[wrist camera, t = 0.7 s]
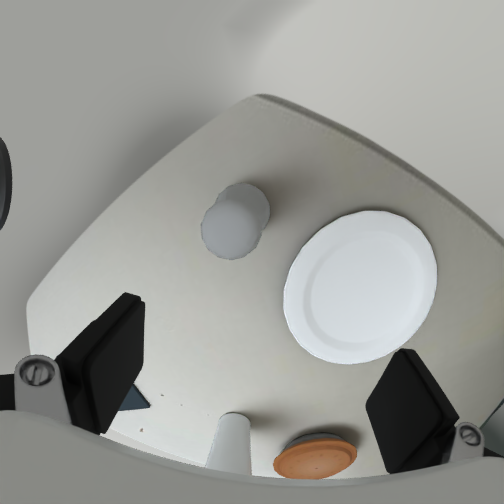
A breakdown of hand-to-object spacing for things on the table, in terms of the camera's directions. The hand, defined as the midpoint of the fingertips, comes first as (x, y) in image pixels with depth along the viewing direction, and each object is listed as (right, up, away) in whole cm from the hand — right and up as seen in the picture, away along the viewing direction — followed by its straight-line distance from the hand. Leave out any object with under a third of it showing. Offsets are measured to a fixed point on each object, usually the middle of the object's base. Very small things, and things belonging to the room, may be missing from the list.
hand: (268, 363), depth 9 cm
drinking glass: (-3, -24, +32) cm, 40 cm away
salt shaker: (-1, +9, +22) cm, 24 cm away
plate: (+14, -1, +24) cm, 28 cm away
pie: (+11, -33, +34) cm, 49 cm away
